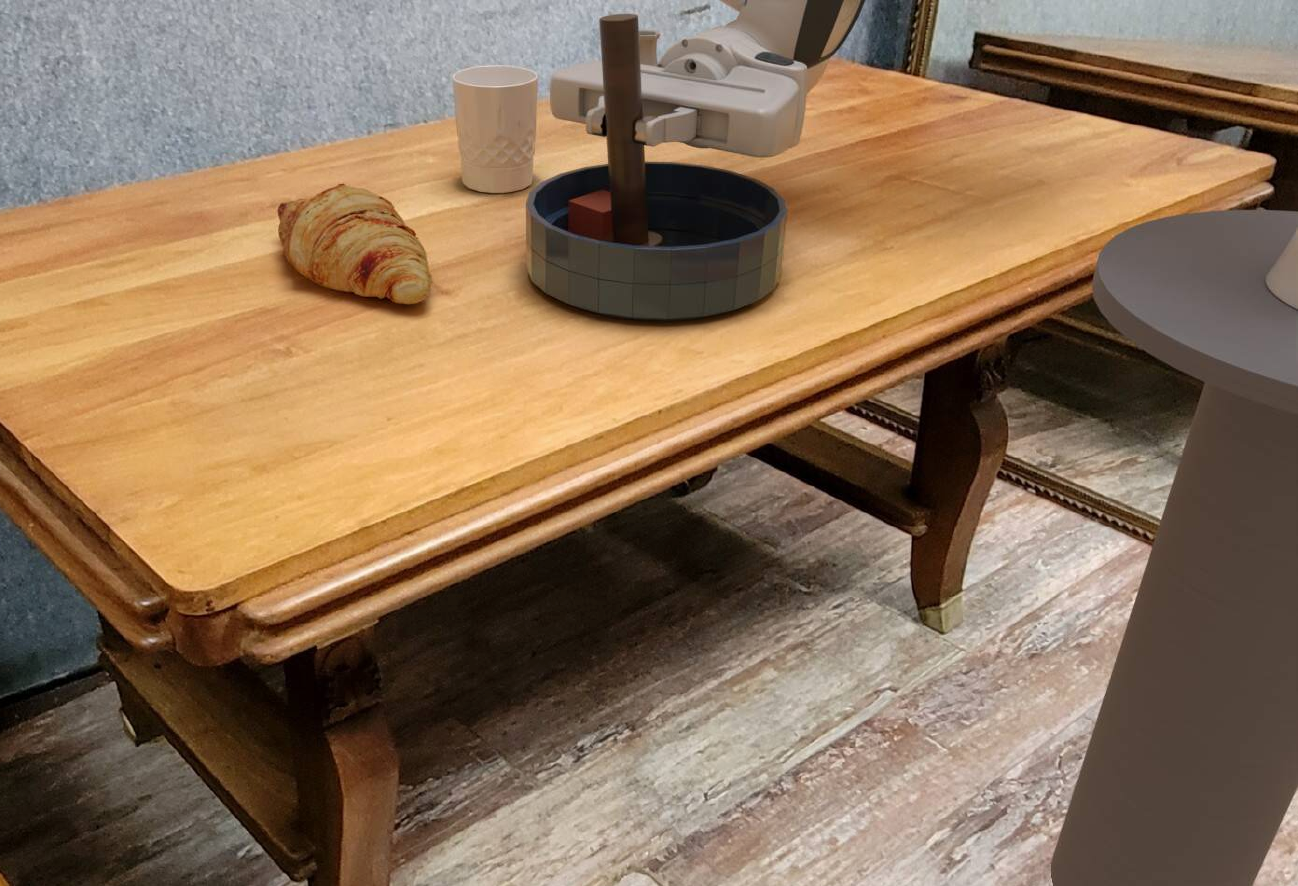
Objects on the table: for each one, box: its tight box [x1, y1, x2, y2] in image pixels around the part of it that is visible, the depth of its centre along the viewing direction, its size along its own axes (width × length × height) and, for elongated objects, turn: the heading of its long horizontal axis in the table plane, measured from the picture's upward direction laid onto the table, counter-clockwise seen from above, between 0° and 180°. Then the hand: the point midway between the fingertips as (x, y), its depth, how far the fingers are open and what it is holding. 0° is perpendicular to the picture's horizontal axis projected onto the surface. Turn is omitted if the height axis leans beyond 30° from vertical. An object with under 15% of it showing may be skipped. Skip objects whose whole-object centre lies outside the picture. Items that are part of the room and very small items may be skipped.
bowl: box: [525, 160, 788, 322], centre depth 98 cm, size 20×20×6 cm
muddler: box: [598, 13, 663, 247], centre depth 94 cm, size 5×5×18 cm
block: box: [568, 190, 613, 241], centre depth 102 cm, size 4×4×4 cm
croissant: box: [277, 183, 433, 305], centre depth 99 cm, size 21×10×8 cm, turn 40°
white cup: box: [451, 64, 539, 194], centre depth 116 cm, size 8×8×10 cm
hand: (618, 129), depth 92 cm, fingers closed on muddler, 3 cm apart
